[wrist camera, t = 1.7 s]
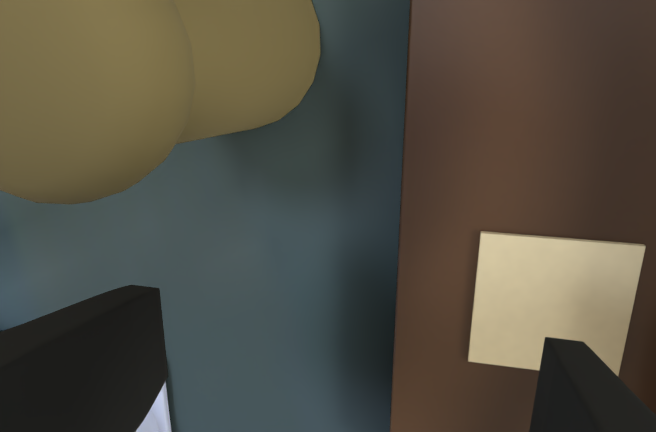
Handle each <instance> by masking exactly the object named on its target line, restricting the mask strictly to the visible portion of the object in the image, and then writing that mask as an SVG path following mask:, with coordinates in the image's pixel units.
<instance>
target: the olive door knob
mask: <svg viewBox="0 0 656 432" xmlns="http://www.w3.org/2000/svg"><path fill="white" fill-rule="evenodd" d="M319 58H320V26H319V22H318V19H317V16H316V13H315V10H314V7H313V4H312V1H311V0H0V190H1V191H4V192H7V193H9V194H12V195H15V196H17V197H20V198H24V199H27V200H30V201H33V202H36V203H55V204H77V203H85V202H91V201H94V200H97V199H101V198H104V197H107V196H110V195H113V194H116V193H119V192H122V191H124V190H126V189H128V188H129V187H131V186H133V185H135V184H136V183H138V182H139V181H140V180H142V179H143V178H144V177H145V176H146V175H148V174H149V173H150V172H151V171H152V170H154V169H155V168H156V167H157V166H158V165H160V164H161V163H162V162H163V161H164V160H165V159H166V157H167V156H168V155H169V153H170V152H171V150H172V149H173V147H174V145H175V144H178V143H184V142H189V141H194V140H199V139H204V138H209V137H214V136H219V135H224V134H229V133H234V132H240V131H245V130H250V129H255V128H258V127H261V126H264V125H267V124H270V123H273V122H276V121H278V120H280V119H281V118H282V117H284V116H285V115H286V114H287V113H289V112H290V111H291V110H292V109H294V108H295V107H296V106H297V105H299V103H300V102H301V100H302V98H303V97H304V95H305V94H306V92H307V91H308V89H309V88H310V86H311V85H312V83H313V81H314V77H315V73H316V69H317V66H318V62H319Z"/></svg>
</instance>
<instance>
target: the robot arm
mask: <svg viewBox="0 0 656 432" xmlns="http://www.w3.org/2000/svg"><path fill="white" fill-rule="evenodd" d="M167 377H168V370H167V360H166V350H165V340H164V330H163V320H162V310H161V300H160V290H159V288H152V287H144V286H136V285H129V286H125V287H121V288H118V289H114V290H111V291H108V292H105V293H103V294H100V295H97V296H94V297H92V298H89V299H86V300H84V301H81V302H79V303H76V304H73V305H71V306H68V307H66V308H63V309H60V310H58V311H55V312H53V313H50V314H48V315H45V316H42V317H40V318H37V319H35V320H32V321H29V322H27V323H24V324H21V325H19V326H16V327H13V328H10V329H7V330H5V331H2V332H0V432H171V423H170V415H169V406H168V398H167V390H166V379H167ZM529 432H656V414H655V413H654V412H653V411H651V410H650V409H649V408H648V407H647V406H646V405H645V404H644V403H643V402H642V401H641V400H640V399H639V398H638V397H637V396H636V395H635V394H634V393H633V392H632V391H631V390H630V389H629V388H628V387H627V386H626V385H625V384H624V382H623V381H622V380H621V379H620V378H619V377H618V376H617V375H616V374H615V373H614V372H613V371H612V370H611V369H610V368H609V367H608V366H607V365H606V364H605V363H604V362H603V361H602V360H601V359H600V358H599V357H598V356H597V355H596V354H595V352H594V351H593V350H592V349H591V348H590V347H589V346H587V345H586V344H585V343H584V342H583V341H575V340H567V339H559V338H551V337H545V341H544V346H543V352H542V358H541V364H540V370H539V376H538V382H537V388H536V393H535V399H534V405H533V411H532V417H531V423H530V429H529Z"/></svg>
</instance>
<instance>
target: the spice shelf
mask: <svg viewBox="0 0 656 432" xmlns="http://www.w3.org/2000/svg"><path fill="white" fill-rule="evenodd" d="M545 337H551V338H559V339H567V340H575V341H583V342H584V343H585V344H586V345H587V346H589V347H590V348H591V349H592V350H593V351H594V352H595V354H596V355H597V356H598V357H599V358H600V359H601V360H602V361H603V362H604V363H605V364H606V365H607V366H608V367H609V368H610V369H611V370H612V371H613V372H614V373H615V374H616V375H617V376H618V377H619V378H620V379H621V380H622V381H623V382H624V384H625V385H626V386H627V387H628V388H629V389H630V390H631V391H632V392H633V393H634V394H635V395H636V396H637V397H638V398H639V399H640V400H641V401H642V402H643V403H644V404H645V405H646V406H647V407H648V408H649V409H650V410H651V411H653V412H654V413H655V414H656V0H410V13H409V34H408V55H407V76H406V97H405V118H404V139H403V160H402V182H401V203H400V224H399V245H398V266H397V287H396V308H395V330H394V351H393V372H392V393H391V414H390V432H529V429H530V423H531V417H532V411H533V405H534V399H535V393H536V388H537V382H538V376H539V370H540V364H541V358H542V352H543V346H544V341H545Z"/></svg>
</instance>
